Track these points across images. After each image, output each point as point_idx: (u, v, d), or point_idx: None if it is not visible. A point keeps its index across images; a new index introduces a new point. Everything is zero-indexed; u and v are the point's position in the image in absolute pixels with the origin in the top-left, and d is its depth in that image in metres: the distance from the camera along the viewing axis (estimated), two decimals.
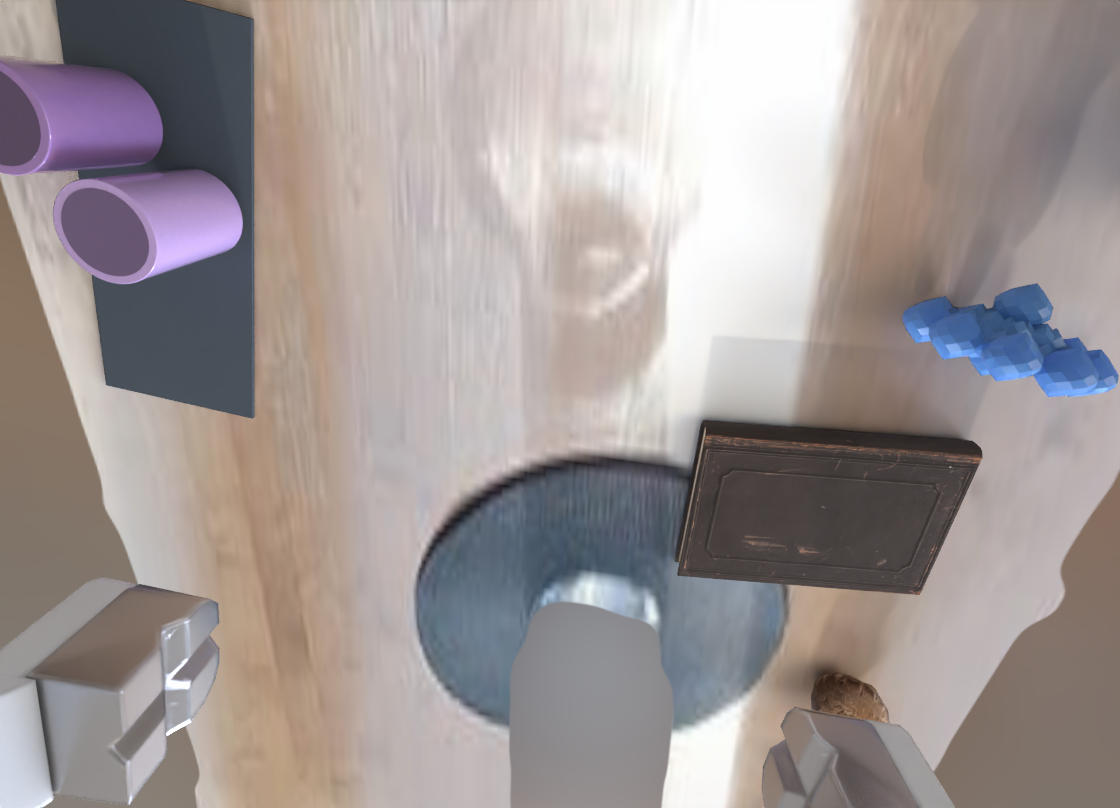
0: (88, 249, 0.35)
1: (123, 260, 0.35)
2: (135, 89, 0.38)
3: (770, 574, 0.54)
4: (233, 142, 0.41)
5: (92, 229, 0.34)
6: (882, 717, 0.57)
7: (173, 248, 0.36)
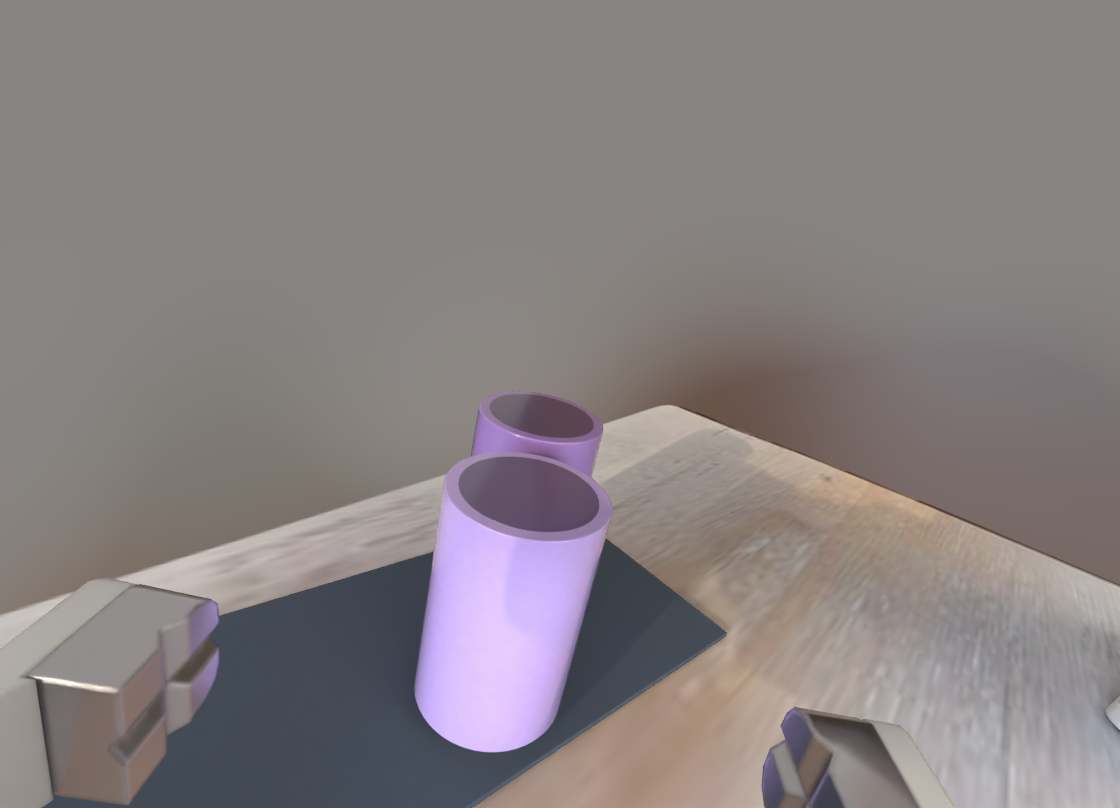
0: (483, 481, 0.21)
1: (514, 511, 0.19)
2: None
3: None
4: (610, 676, 0.26)
5: (520, 479, 0.21)
6: None
7: (567, 576, 0.19)
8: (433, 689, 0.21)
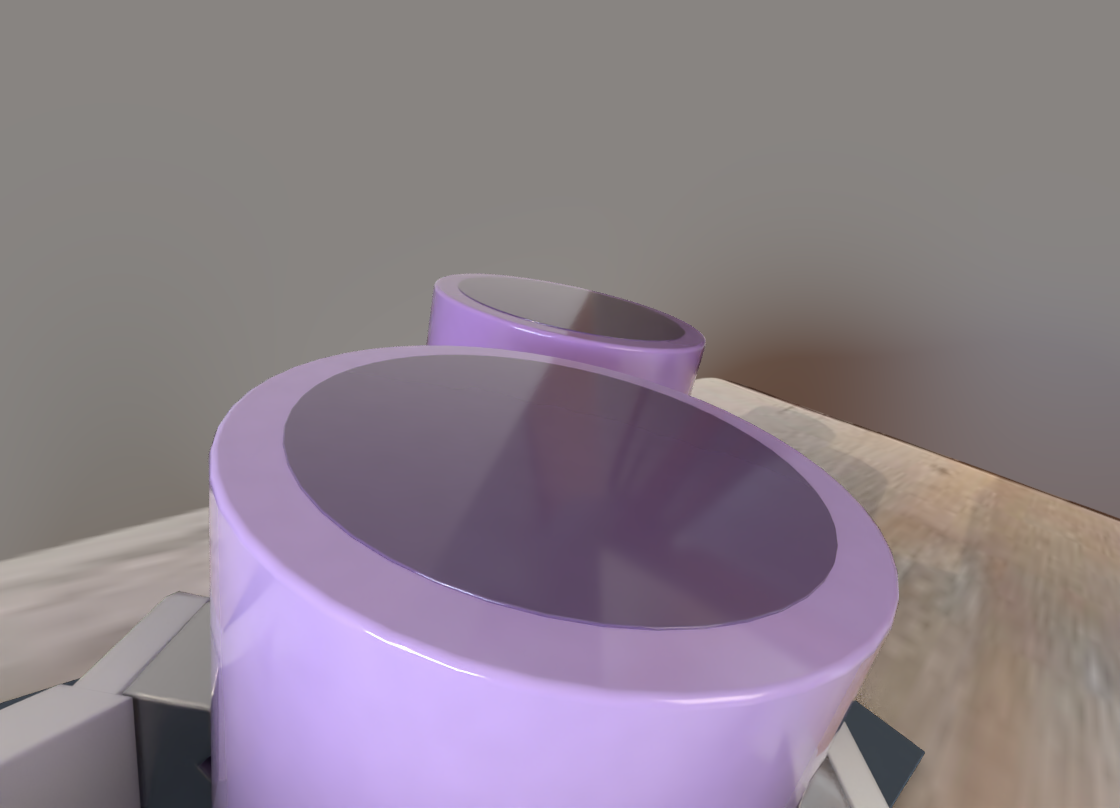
0: (401, 405, 0.06)
1: (511, 516, 0.04)
2: None
3: None
4: None
5: (532, 410, 0.06)
6: None
7: None
8: None
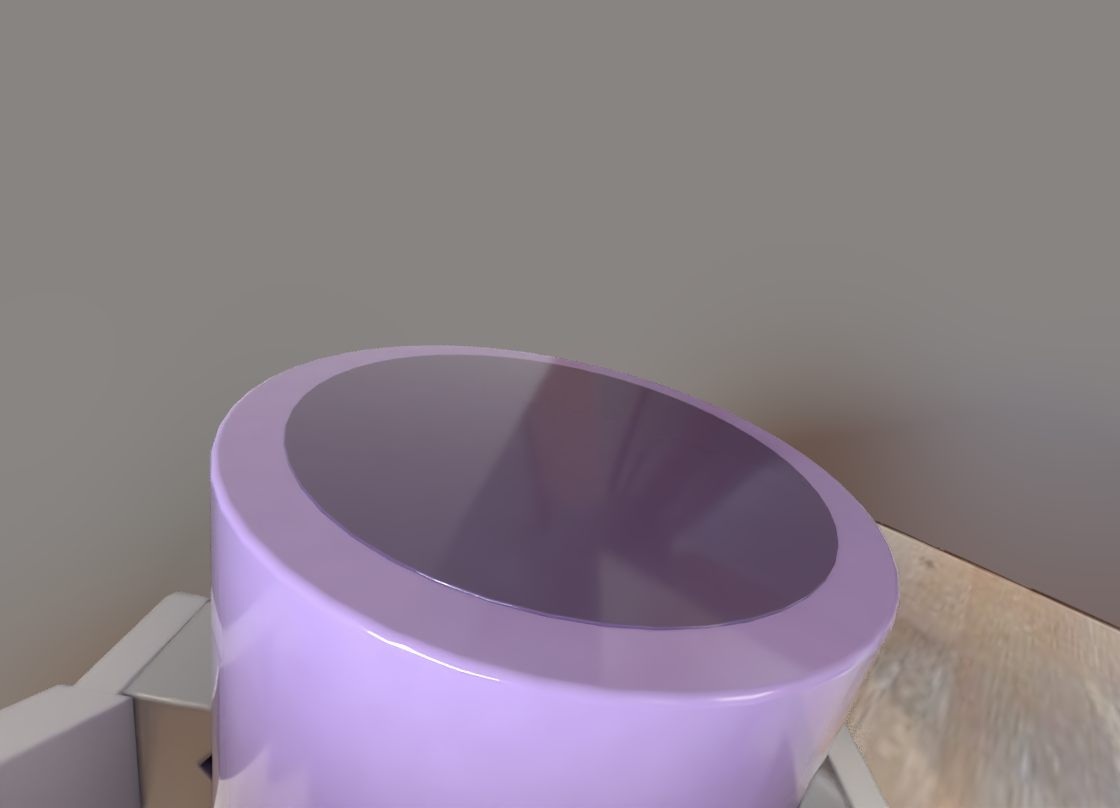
0: (401, 405, 0.06)
1: (511, 516, 0.04)
2: None
3: None
4: None
5: (532, 409, 0.06)
6: None
7: None
8: None
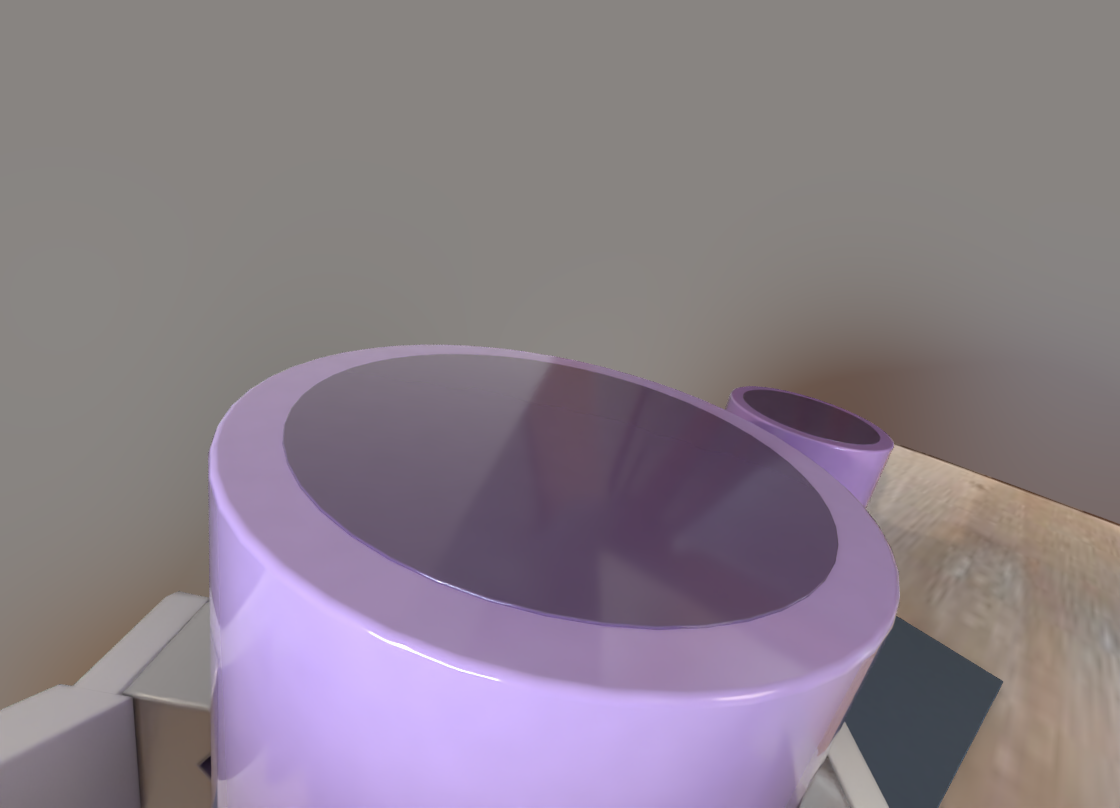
0: (401, 404, 0.06)
1: (510, 515, 0.04)
2: None
3: None
4: (914, 746, 0.21)
5: (531, 409, 0.06)
6: None
7: None
8: None
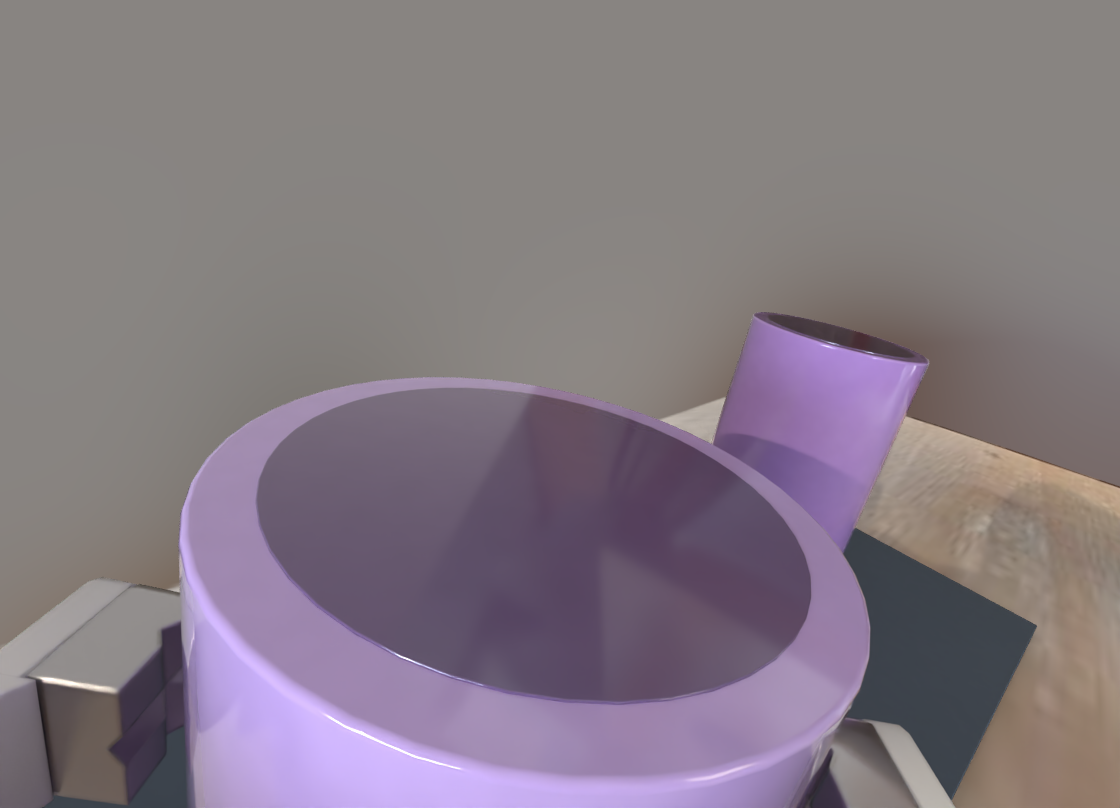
0: (379, 450, 0.06)
1: (481, 577, 0.04)
2: None
3: None
4: (951, 682, 0.20)
5: (511, 449, 0.06)
6: None
7: None
8: None
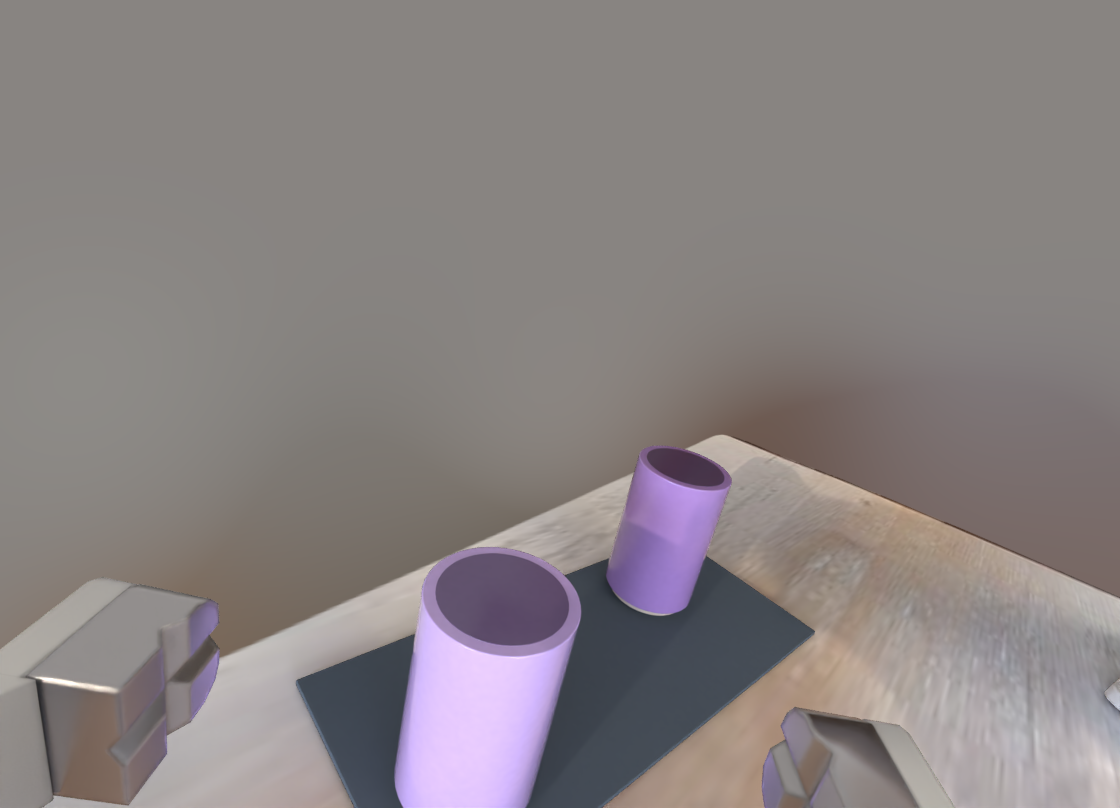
0: (460, 586, 0.22)
1: (487, 622, 0.20)
2: None
3: None
4: (740, 662, 0.36)
5: (494, 582, 0.22)
6: None
7: (536, 684, 0.20)
8: (411, 782, 0.22)
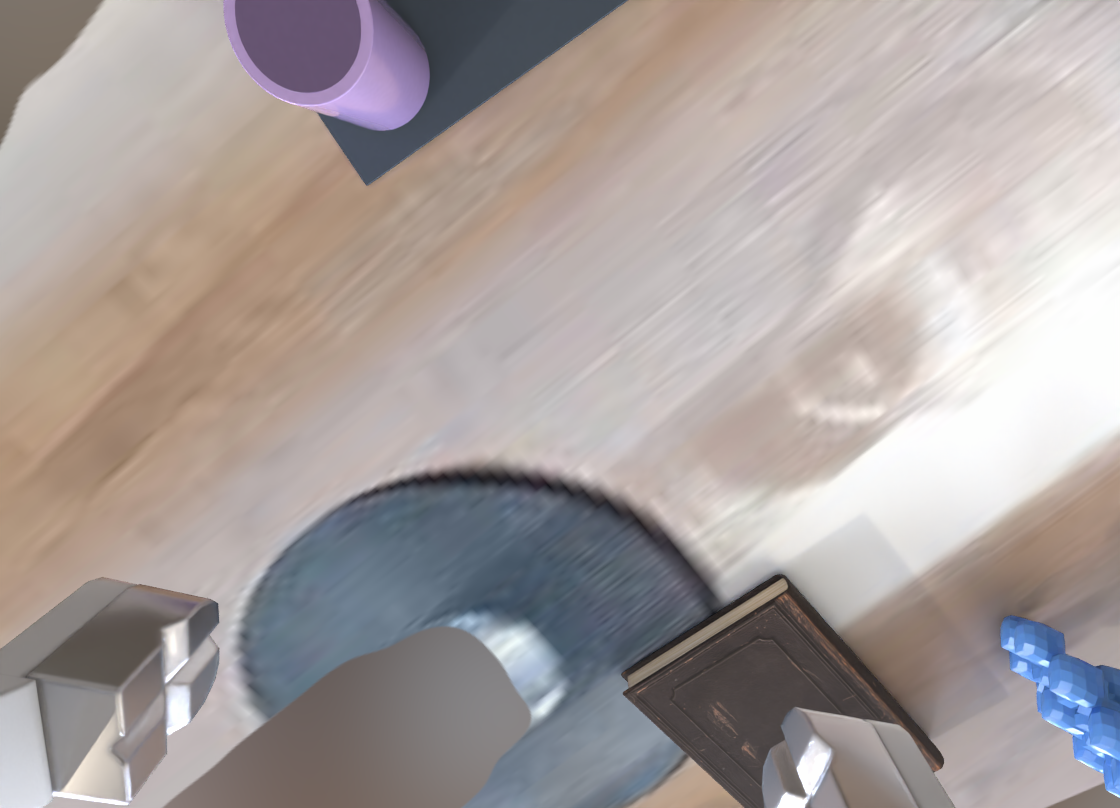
0: (256, 12, 0.23)
1: (286, 64, 0.24)
2: None
3: (699, 749, 0.47)
4: None
5: (288, 2, 0.23)
6: None
7: (350, 104, 0.26)
8: None
